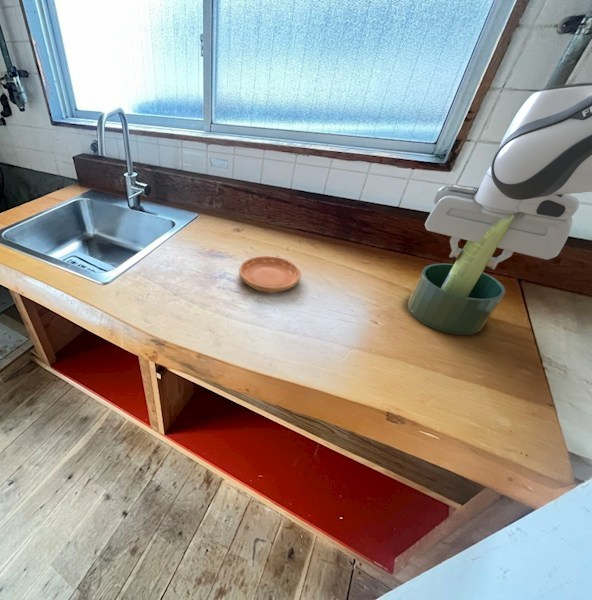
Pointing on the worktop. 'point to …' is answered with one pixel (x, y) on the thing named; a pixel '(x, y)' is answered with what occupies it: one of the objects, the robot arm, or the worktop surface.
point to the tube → (474, 259)
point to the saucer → (269, 273)
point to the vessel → (453, 302)
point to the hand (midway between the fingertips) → (471, 262)
